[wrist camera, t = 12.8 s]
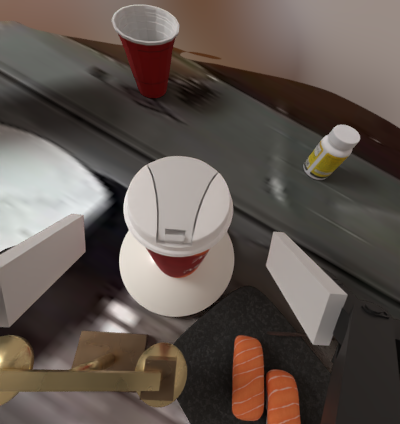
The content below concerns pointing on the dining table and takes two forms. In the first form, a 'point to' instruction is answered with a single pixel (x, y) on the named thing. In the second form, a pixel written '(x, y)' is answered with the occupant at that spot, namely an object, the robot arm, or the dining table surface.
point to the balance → (98, 368)
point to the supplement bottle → (331, 152)
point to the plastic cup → (147, 45)
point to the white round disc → (175, 279)
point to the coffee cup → (178, 212)
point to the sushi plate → (250, 366)
